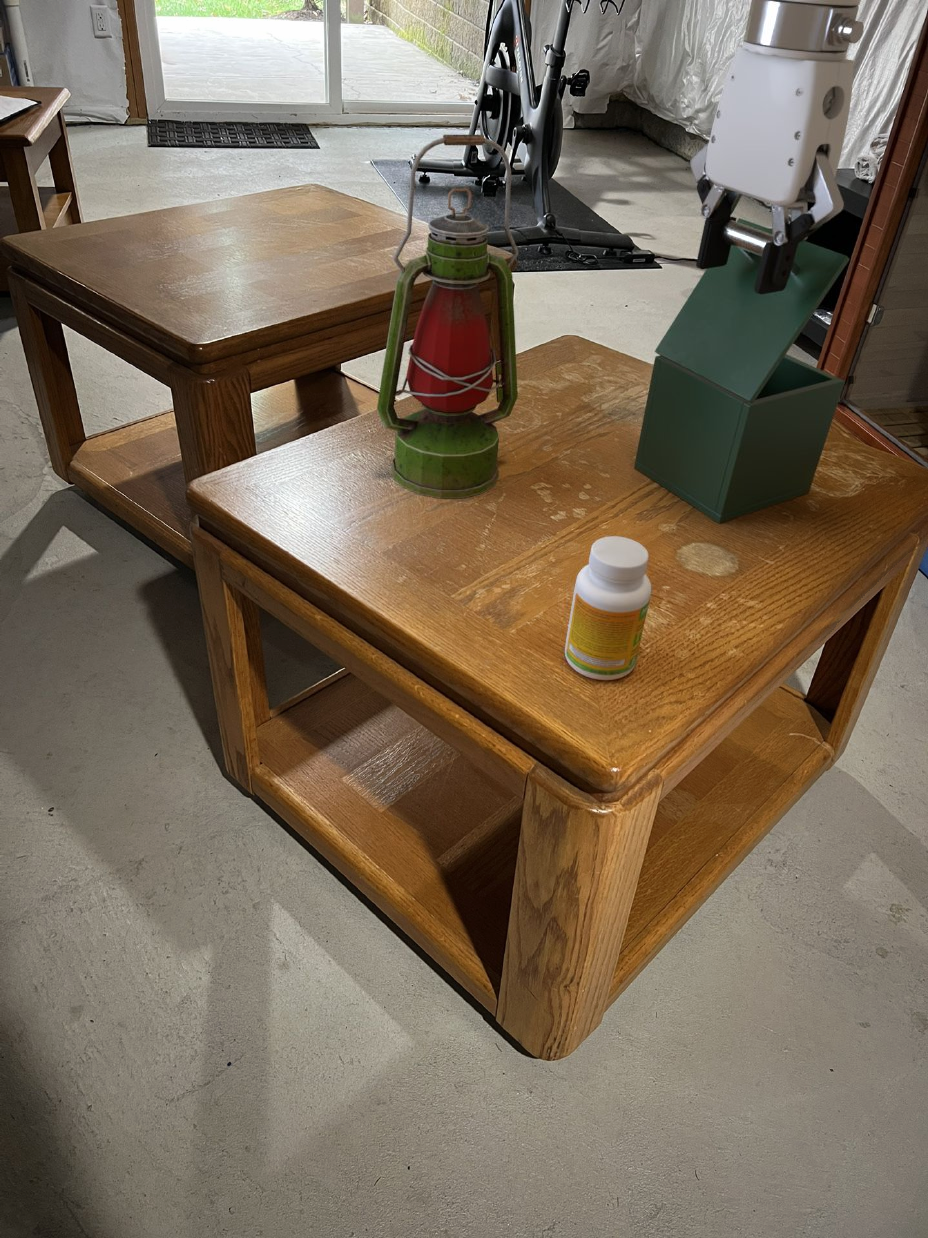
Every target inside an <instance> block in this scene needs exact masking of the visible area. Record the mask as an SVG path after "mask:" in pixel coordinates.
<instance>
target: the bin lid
mask: <svg viewBox="0 0 928 1238" xmlns="http://www.w3.org/2000/svg"><path fill="white" fill-rule="evenodd" d="M720 239H721V240H722V241H723V242H725V243H728V244H730V245H731V248H730V253H729V257H728V262H727V264H726V265H724V266H721V267H714V268H708V269H705V271H704V272H703V274H702V276H700V278H699V280H698V282H697V284H696V285H695V287H694V288H693V289H692V291H691V293H690V294H689V296H688V298H687V299H686V301H685V302H684V304H683V305H682V307H681V309H680V311H679V312H678V314H676V316H675V318H674V320H673V321H672V323H671V325H670V326H669V328H668V329H667V331H666V332H665V334H664V336H663V337H662V339H661V340H660V342H659V343H658V345H657V346H656V348H655V350H654V353H656V354H657V355H658V356H660V355H661V356H663V357H664V358H666V359H668V360H670V361H672V362H674V363H676V364H678V365H680V366H682V367H684V368H686V369H687V370H689V371H691V372H693V373H695V374H697V375H699V376H701V377H703V378H705V379H707V380H709V381H710V382H712V383H714V384H716V385H718V386H720V387H722V388H724V389H726V390H728V391H730V392H732V393H733V394H735V395H737V396H739V397H741V398H743V399H745V400H747V401H749V402H751V403H753V402H754V401H755V399H756V398H757V396H758V395H759V393H760V392H761V390H762V389H763V387H764V386H765V384H766V383H767V381H768V380H769V378H770V377H771V375H772V374H773V372H774V371H775V369H776V368H777V367H778V365H779V364H780V362H781V361H782V359H783V358H784V356H785V355H786V354H787V353H788V352H789V350H790V348H791V347H792V346H793V344H794V343H795V341H796V340H797V339H798V337H799V336H800V335H801V332H802V331H803V330H804V329H805V327H806V325H807V324H808V322H809V321H810V319H811V318H812V316H813V314H814V313H815V311H816V310H817V309H818V307H819V306H820V304H821V303H822V301H823V300H824V298H825V297H826V295H827V294H828V292H829V291H830V289H831V288H832V286H833V285H834V283H835V282H836V280H837V279H838V277H839V276H840V274H841V273H842V272H843V270H844V269H845V267H846V266H847V264H848V263H849V261H850V258H849V257H848V255H845V254H843V253H840V252H836V251H833V250H831V249H828V248H825V247H824V246H823V247H822V246H819V245H817V244H814V243H811V242H808V241H807V240H806V241H804V242H802V243H798V247H797V250H796V254H795V258H794V262H793V265H792V269H791V273H790V276H789V279H788V281H787V285H786V287H785V289H784V290H783V291H778V292H773V293H767V294H758V293H756V292H755V290H754V286H755V282H756V278H757V274H758V270H759V266H760V262H761V258H762V254H763V250H764V246H765V245H766V243H768V242H773V232H772V228H768V227H766V226H763V225H761V224H758V223H754V222H751V221H750V220H749V221H748V220H746V219H743V218H740V217H739V218H738V219H736V221H733V220H729V221H727V222H725V223H724V225H723V226H722V228H721V231H720Z"/></svg>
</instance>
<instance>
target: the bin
mask: <svg viewBox="0 0 928 1238" xmlns="http://www.w3.org/2000/svg"><path fill="white" fill-rule="evenodd" d="M845 382H846V381H845V380H843V379H841V378H839V377H837V376H835V375H833V374H831V373H828V372H827V371H824V370H822V369H819V368H817V367H815V366H813V365H812V364H811V365H810V364H808V363H806V362H805V361H802V360H800V359H798V358H796V357H794V356H792V355H789V354H787V353H786V355H785V356H784V358H783V359H782V361H781V362H780V364H779V365H778V367H777V368H776V369H775V371H774V372H773V374H772V375H771V377H770V378H769V380H768V381H767V383H766V384H765V386H764V387H763V389H762V390H761V392H760V393H759V395H758V396H757V398H756V399H755V401H754V402H753V403H751V402H749V401H747V400H745V399H743V398H741V397H739V396H737V395H735V394H733V393H732V392H730V391H728V390H726V389H724V388H722V387H720V386H718V385H716V384H714V383H712V382H710V381H709V380H707V379H705V378H703V377H701V376H699V375H697V374H695V373H693V372H691V371H689V370H687V369H686V368H684V367H682V366H680V365H678V364H676V363H674V362H672V361H670V360H668V359H666V358H664V357H663V356H661V355H656V356H655V357H654V361H653V367H652V372H651V377H650V383H649V387H648V393H647V398H646V404H645V408H644V412H643V413H644V414H643V418H642V425H641V429H640V434H639V440H638V444H637V450H636V454H635V455H636V456H635V459H634V460H635V461H634V466H633V468H634V469H635V470H636V471H638V472H640V473H642V474H643V475H645V477H647V478H649V479H650V480H652V481H654V482H655V483H657V484H658V485H659V486H661V487H663V488H664V489H666V490H667V491H669V492H670V493H672V494H673V495H675V496H676V497H678V498H679V499H681V500H682V501H684V502H686V503H687V504H689V505H690V506H692V507H693V508H695V509H696V510H698V511H700V512H701V513H703V515H705V516H707V517H709V518H710V519H712V520H713V521H714V522H716V523H718V524H721V523H724V522H728V521H731V520H733V519H737V518H739V517H743V516H745V515H748V514H751V513H754V512H758V511H760V510H763V509H766V508H768V507H772V506H775V505H777V504H781V503H783V502H786V501H789V500H792V499H795V498H798V497H801V496H803V495H806V494H807V495H808V494H809V493H810V490H811V487H812V484H813V481H814V477H815V475H816V472H817V469H818V466H819V463H820V460H821V457H822V455H823V450H824V447H825V444H826V441H827V438H828V435H829V432H830V429H831V426H832V424H833V420H834V417H835V414H836V410H837V408H838V404H839V401H840V398H841V395H842V392H843V390H844V386H845Z"/></svg>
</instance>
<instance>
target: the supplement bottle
mask: <svg viewBox="0 0 928 1238" xmlns="http://www.w3.org/2000/svg"><path fill="white" fill-rule="evenodd" d="M649 557H650V556H649V552H648V550H647V548H645V546H644V545H642V544H641V543H639V542H638V541H636V540H634V539H631V538H628V537H624V536H617V535H616V536H614V535H613V536H612V535H611V536H604V537H601V538H598V539H597V540H595V541H594V542H593V543H592V544H591V548H590V553H589V556H588V564H586V565H584V566H583V567H582V568H581V570H580V571H579V572H578V574H577V576H576V580H575V583H574V584H575V585H574V590H573V594H572V595H573V596H572V601H571V608H570V613H569V620H568V626H567V632H566V638H565V645H564V656H565V660H566V661H567V663H568V664H569V666H570V667H571V668H572V669H573V670H575V671H576V672H577V673H579V674H580V675H583V676H584V677H587V678H590V679H593V680H599V681H613V680H618V679H621V678H623V677H626V676H627V675H629V674H630V673H631V672H632V671H633V670H634V668H635V666H636V664H637V659H638V655H639V651H640V646H641V642H642V637H643V632H644V628H645V623H646V619H647V615H648V610H649V605H650V602H651V596H652V584H651V581H650V579H649V577H648V575H647V574H646V572H647V567H648V564H649Z"/></svg>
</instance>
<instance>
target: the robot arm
mask: <svg viewBox="0 0 928 1238" xmlns="http://www.w3.org/2000/svg"><path fill="white" fill-rule="evenodd" d="M861 2H862V0H751V3H750V8H749V11H748V17H747V21H746V28H745V32H744V37H743V40H742V41H743V42H742V45H738V46H737V49H736V51H735V53H734V56H733V59H732V61H731V63H730V66H729V69H728V72H727V75H726V78H725V80H724V84H723V87H722V90H721V93H720V97H719V101H718V105H717V108H716V111H715V116H714V119H713V123H712V127H711V132H710V136H709V140H708V142H707V143H706V144H705V145H704V146H703V147H702V148H701V149H700V150H699V151H697V153H696V154H695V155H694V156H692V157H691V159H690V161H689V167H690V170H691V173H692V176H693V178H694V181H695V183H696V191H697V194H698V198H699V200H700V202H701V207H700V216H701V217H702V218H703V219H704V224H703V228H702V229H703V230H702V234H701V238H700V242H699V243H700V244H699V249H698V253H697V258H696V262H695V266H696V268H697V269H700V270H706V269H708V268H714V267H721V266H724V265H726V264H727V262H728V257H729V253H730V248H731V245H730V244H728V243H725V242H723V241H722V240H721V239H720V231H721V228H722V226H723V225H724V223H725V222H727V221H729V220H733V221H736V222H737V220H738V219H737V217H736V216H732V214H733V213H734V211H735V209H736V208H737V206H738V204H739V203H740V201H741V199H742V197H743V196H747V197H749V198H752V199H755V200H757V201H760V202H761V201H762V202H764V203H767V204H770V205H771V207H770V208H771V227H772V228H771V229H772V232H773V242H768V243H766V245H765V246H764V250H763V254H762V258H761V262H760V266H759V270H758V274H757V278H756V282H755V286H754V290H755V292H756V293H758V294H767V293H773V292H778V291H783V290H784V289H785V287H786V285H787V281H788V279H789V276H790V273H791V269H792V265H793V262H794V258H795V254H796V250H797V247H798V243H802V242H804V241H806V242H807V239H808V237H810V236H811V235H812V234H813V233H815V232H816V231H817V230H819V229H820V228H821V227H823V226H824V225H823V224H825V223H827V222H828V221H830V220H831V219H833V218H834V217H835V216H837V215H838V214H839V213H841V212H842V211H843V209H844V207H845V201H844V200H843V196H842V194H841V192H840V189H839V186H838V183H837V181H836V176H837V173H838V172H837V171H838V168H839V164H840V160H841V156H842V151H843V147H844V141H845V137H846V132H847V126H848V122H849V116H850V109H851V102H852V94H853V85H854V70H855V69H854V67H855V66H854V65H855V61H854V60H852V59H849V58H846V57H847V53H848V50H849V45H850V44H857V43H858V42H859V41H861V38H862V36H863V34H864V29H865V26H864V23H863V21H858V20H857V16H858V12H859V9H860V5H861ZM808 203H814V205H813V206H812V207H810V209H808ZM789 210H790V216H789ZM789 217H790V218H789Z"/></svg>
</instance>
